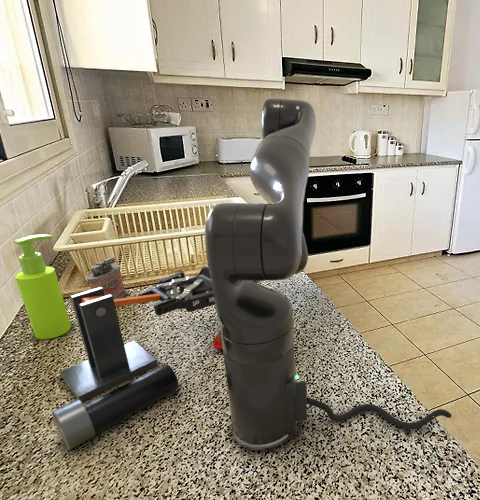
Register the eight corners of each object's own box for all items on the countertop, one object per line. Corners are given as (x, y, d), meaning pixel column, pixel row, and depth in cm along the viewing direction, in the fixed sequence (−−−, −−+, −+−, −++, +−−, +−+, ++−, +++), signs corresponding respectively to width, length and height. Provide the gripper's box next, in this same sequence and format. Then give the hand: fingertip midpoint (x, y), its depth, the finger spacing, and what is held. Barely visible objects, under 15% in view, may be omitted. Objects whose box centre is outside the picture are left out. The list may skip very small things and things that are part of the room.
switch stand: (135, 345, 72) (120, 275, 67) (157, 365, 67) (143, 291, 61) (61, 377, 63) (36, 300, 58) (80, 403, 58) (55, 321, 53)
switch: (159, 297, 71) (160, 285, 71) (173, 307, 68) (174, 294, 68) (77, 308, 61) (78, 294, 61) (89, 320, 58) (90, 305, 57)
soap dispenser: (82, 326, 77) (56, 235, 70) (42, 342, 72) (10, 246, 65) (68, 318, 80) (43, 229, 73) (29, 333, 75) (-2, 239, 68)
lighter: (103, 309, 84) (93, 269, 80) (90, 308, 84) (80, 267, 81) (130, 293, 91) (121, 255, 88) (118, 291, 92) (109, 254, 88)
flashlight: (165, 379, 63) (159, 352, 61) (182, 395, 60) (177, 366, 58) (59, 435, 52) (48, 404, 50) (73, 458, 49) (62, 425, 47)
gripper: (208, 251, 82) (126, 274, 70) (248, 269, 74) (163, 299, 62) (211, 282, 85) (133, 309, 73) (250, 303, 77) (169, 337, 64)
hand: (147, 304), depth 67 cm, fingers closed on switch, 5 cm apart
